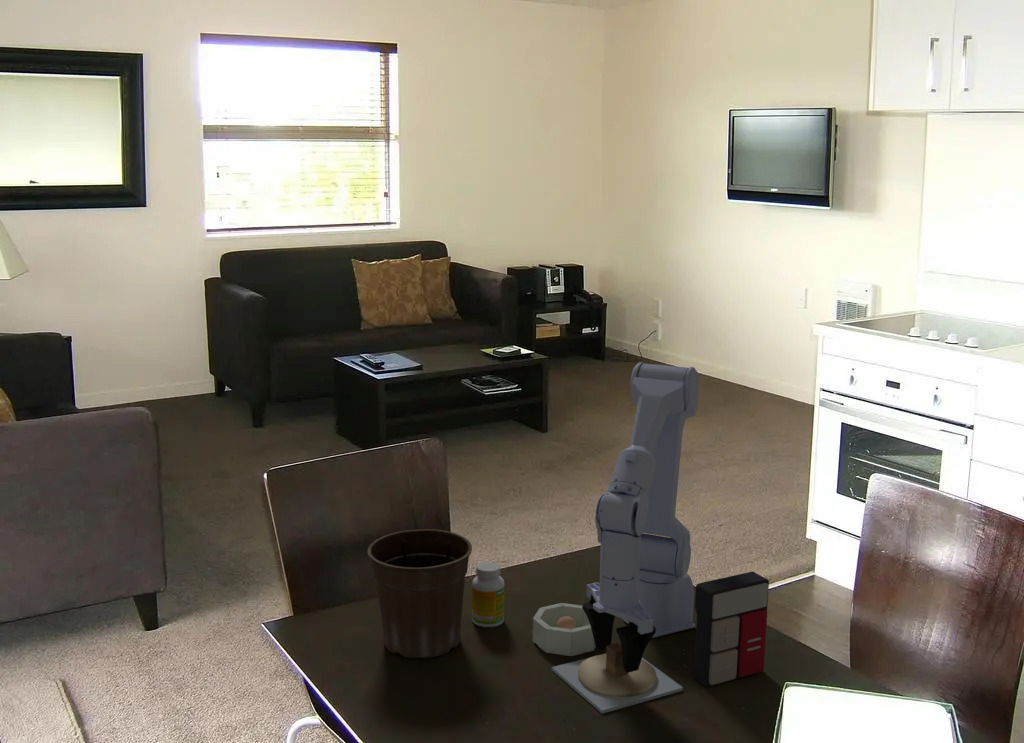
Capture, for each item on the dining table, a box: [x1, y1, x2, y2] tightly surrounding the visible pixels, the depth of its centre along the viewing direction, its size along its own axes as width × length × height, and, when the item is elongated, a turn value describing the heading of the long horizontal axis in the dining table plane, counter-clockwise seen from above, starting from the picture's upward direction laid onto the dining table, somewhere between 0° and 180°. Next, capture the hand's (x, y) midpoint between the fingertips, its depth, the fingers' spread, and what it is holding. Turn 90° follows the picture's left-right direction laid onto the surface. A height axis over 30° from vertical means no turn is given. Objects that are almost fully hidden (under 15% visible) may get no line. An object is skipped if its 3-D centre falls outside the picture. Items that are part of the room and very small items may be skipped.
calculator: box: [693, 571, 770, 688], centre depth 155 cm, size 11×4×15 cm, turn 117°
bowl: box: [532, 602, 596, 657], centre depth 167 cm, size 10×10×4 cm
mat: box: [551, 653, 684, 715], centre depth 155 cm, size 14×14×1 cm
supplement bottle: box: [471, 561, 505, 628], centre depth 173 cm, size 5×5×10 cm
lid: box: [578, 642, 656, 697], centre depth 154 cm, size 12×12×5 cm
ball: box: [556, 616, 576, 629], centre depth 167 cm, size 3×3×3 cm
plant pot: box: [367, 528, 473, 659], centre depth 164 cm, size 16×16×16 cm
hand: (616, 659), depth 154 cm, fingers open, 7 cm apart
